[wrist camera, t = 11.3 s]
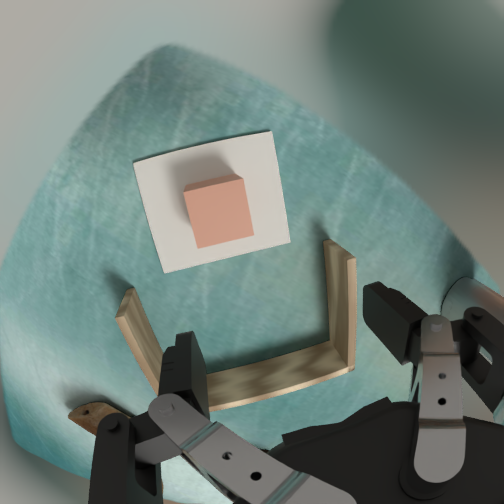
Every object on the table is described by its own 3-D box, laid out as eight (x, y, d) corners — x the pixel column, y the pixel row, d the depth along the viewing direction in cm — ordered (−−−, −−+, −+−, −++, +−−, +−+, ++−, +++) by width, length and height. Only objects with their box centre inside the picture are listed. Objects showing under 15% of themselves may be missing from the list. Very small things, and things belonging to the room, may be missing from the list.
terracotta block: (235, 173, 28) (243, 178, 23) (245, 221, 30) (254, 235, 25) (185, 185, 27) (183, 192, 23) (197, 232, 29) (197, 248, 24)
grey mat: (270, 131, 27) (271, 131, 27) (289, 240, 32) (290, 242, 31) (134, 162, 26) (133, 163, 25) (164, 271, 30) (164, 273, 30)
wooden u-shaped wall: (330, 239, 33) (355, 257, 27) (336, 343, 39) (354, 369, 33) (126, 289, 30) (115, 318, 25) (172, 385, 36) (171, 418, 31)
